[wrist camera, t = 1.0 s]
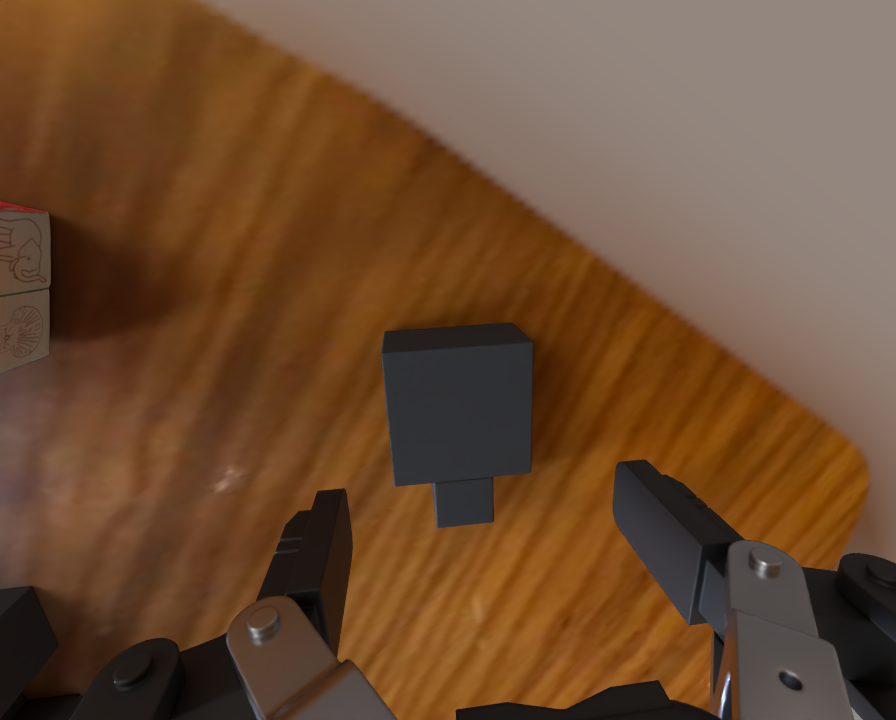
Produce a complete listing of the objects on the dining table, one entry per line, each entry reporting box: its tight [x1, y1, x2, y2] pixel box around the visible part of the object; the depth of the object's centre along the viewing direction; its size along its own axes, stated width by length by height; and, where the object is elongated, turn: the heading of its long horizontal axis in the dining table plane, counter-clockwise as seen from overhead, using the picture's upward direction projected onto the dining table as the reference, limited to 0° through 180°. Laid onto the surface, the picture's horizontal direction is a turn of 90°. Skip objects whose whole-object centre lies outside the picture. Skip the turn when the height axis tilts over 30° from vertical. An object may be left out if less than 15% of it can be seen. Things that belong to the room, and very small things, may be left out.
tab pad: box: [381, 323, 533, 528], centre depth 19 cm, size 6×8×4 cm
